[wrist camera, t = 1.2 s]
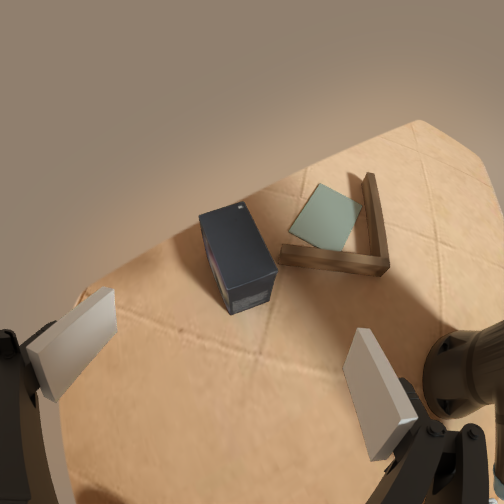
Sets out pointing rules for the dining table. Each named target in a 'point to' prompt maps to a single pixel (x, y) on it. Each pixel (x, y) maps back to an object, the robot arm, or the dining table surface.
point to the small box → (238, 257)
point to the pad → (326, 219)
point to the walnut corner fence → (344, 260)
